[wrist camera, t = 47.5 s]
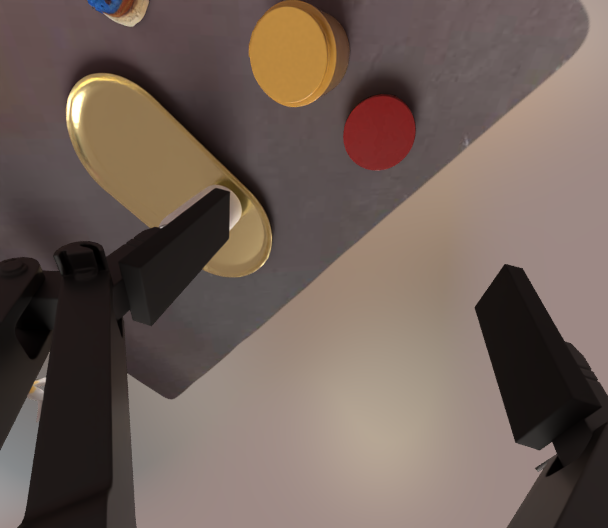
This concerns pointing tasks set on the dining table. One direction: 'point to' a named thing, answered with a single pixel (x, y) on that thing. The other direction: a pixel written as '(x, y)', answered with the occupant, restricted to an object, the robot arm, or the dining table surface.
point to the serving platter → (158, 165)
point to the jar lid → (379, 132)
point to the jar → (298, 53)
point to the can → (234, 201)
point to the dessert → (122, 10)
